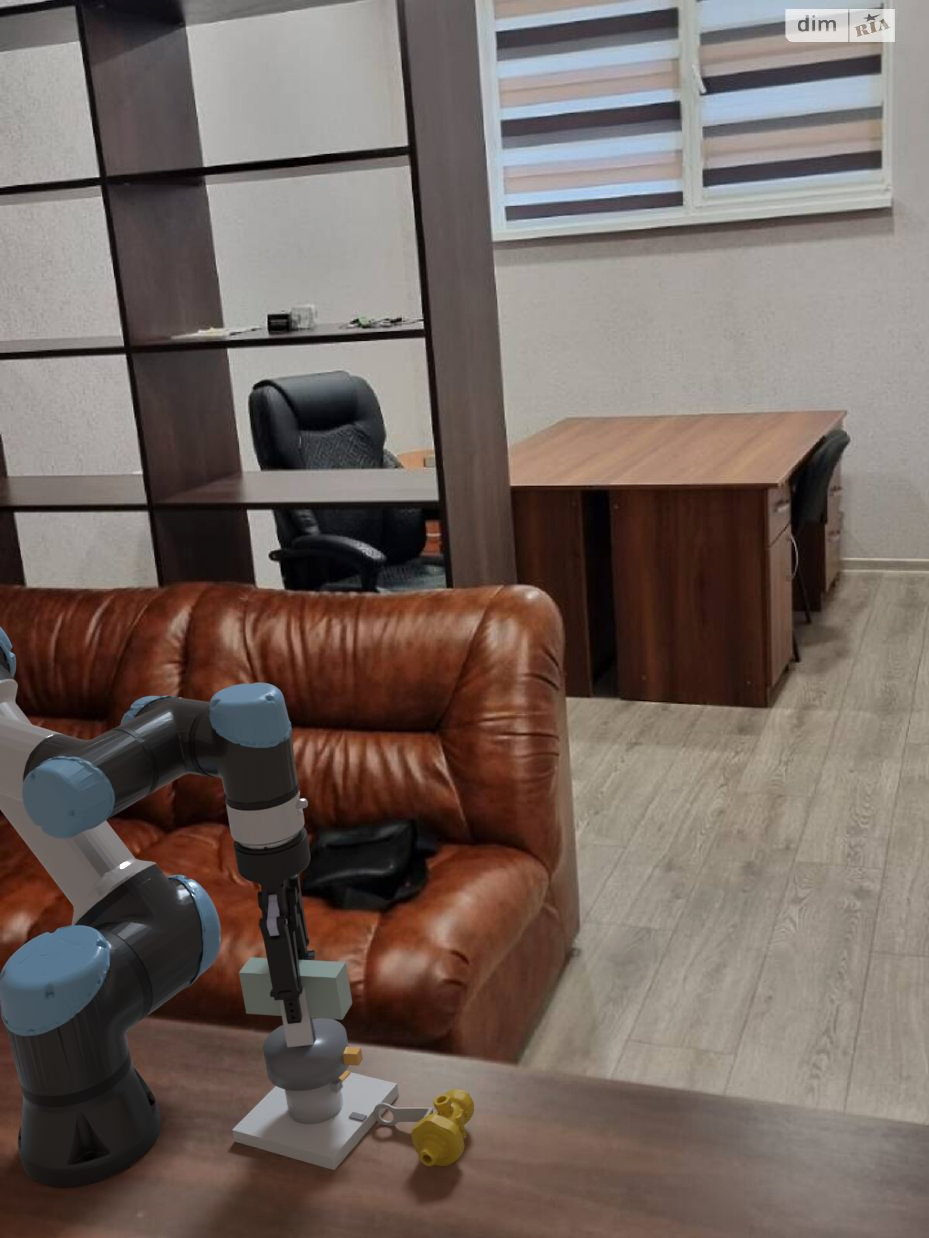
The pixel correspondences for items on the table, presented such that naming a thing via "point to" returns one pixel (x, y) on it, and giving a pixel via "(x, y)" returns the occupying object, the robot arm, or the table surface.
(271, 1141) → the base
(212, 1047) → the table surface
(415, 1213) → the table surface
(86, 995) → the robot arm
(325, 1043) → the cap
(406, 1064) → the table surface
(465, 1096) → the pressure relief valve
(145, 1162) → the table surface
